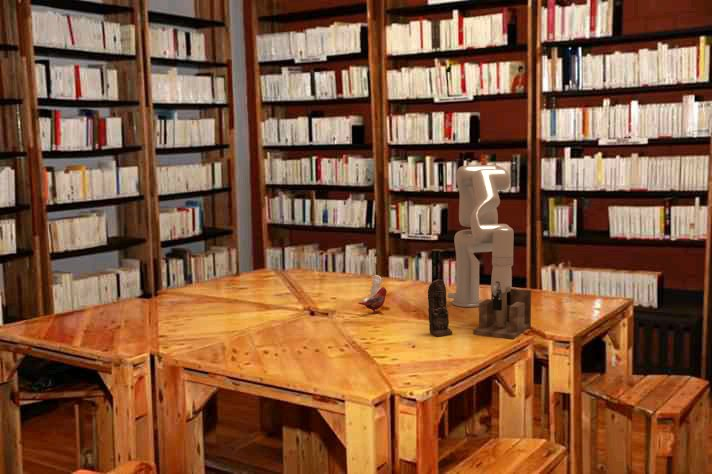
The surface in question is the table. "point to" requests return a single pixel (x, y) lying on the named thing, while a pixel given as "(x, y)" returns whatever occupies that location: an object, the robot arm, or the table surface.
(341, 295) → the table surface
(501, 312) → the handle
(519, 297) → the wooden stand
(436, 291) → the statue
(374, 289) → the white creature statuette
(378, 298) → the decorative bird figurine
